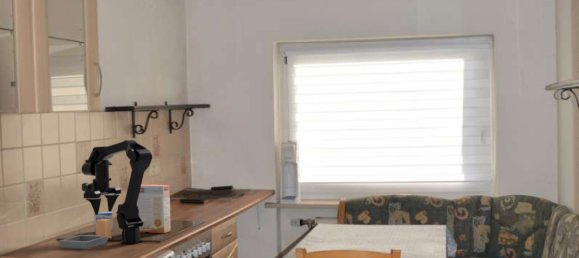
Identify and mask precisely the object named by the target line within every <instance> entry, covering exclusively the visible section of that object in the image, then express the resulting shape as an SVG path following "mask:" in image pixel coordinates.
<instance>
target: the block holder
mask: <svg viewBox="0 0 579 258" xmlns="http://www.w3.org/2000/svg"><path fill="white" fill-rule="evenodd" d="M107 244H108V239H107V236H96V235H90V234H89V235H87V234H86V235H85V234H79V235H76V236H72V237H68V238H64V239H60V240H59V249H70V250H82V251H83V250H85V251H87V250H90V249H91V250H92V249H94V248H98V247H101V246H105V245H107Z"/></svg>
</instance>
